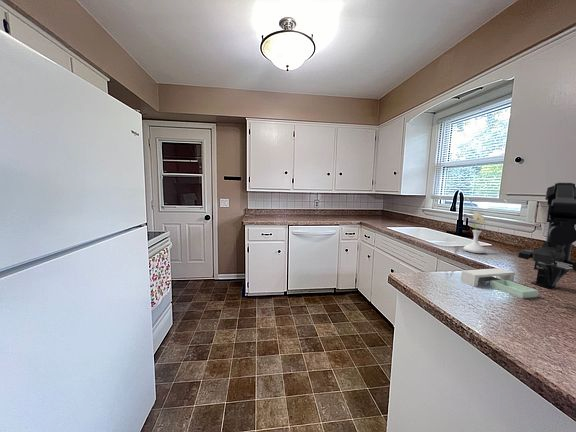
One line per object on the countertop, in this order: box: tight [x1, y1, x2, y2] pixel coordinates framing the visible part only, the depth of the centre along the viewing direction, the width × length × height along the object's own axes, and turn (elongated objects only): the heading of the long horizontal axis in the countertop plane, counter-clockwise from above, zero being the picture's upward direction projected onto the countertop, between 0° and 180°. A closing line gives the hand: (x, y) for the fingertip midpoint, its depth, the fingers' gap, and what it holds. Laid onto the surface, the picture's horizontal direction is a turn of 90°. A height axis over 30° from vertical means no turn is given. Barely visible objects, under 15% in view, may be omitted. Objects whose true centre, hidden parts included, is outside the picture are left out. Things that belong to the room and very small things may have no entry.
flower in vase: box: [463, 212, 487, 254], centre depth 155 cm, size 13×11×25 cm
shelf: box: [460, 267, 516, 287], centre depth 103 cm, size 22×6×5 cm, turn 106°
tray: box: [489, 279, 539, 300], centre depth 94 cm, size 8×11×2 cm
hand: (551, 285), depth 83 cm, fingers closed
